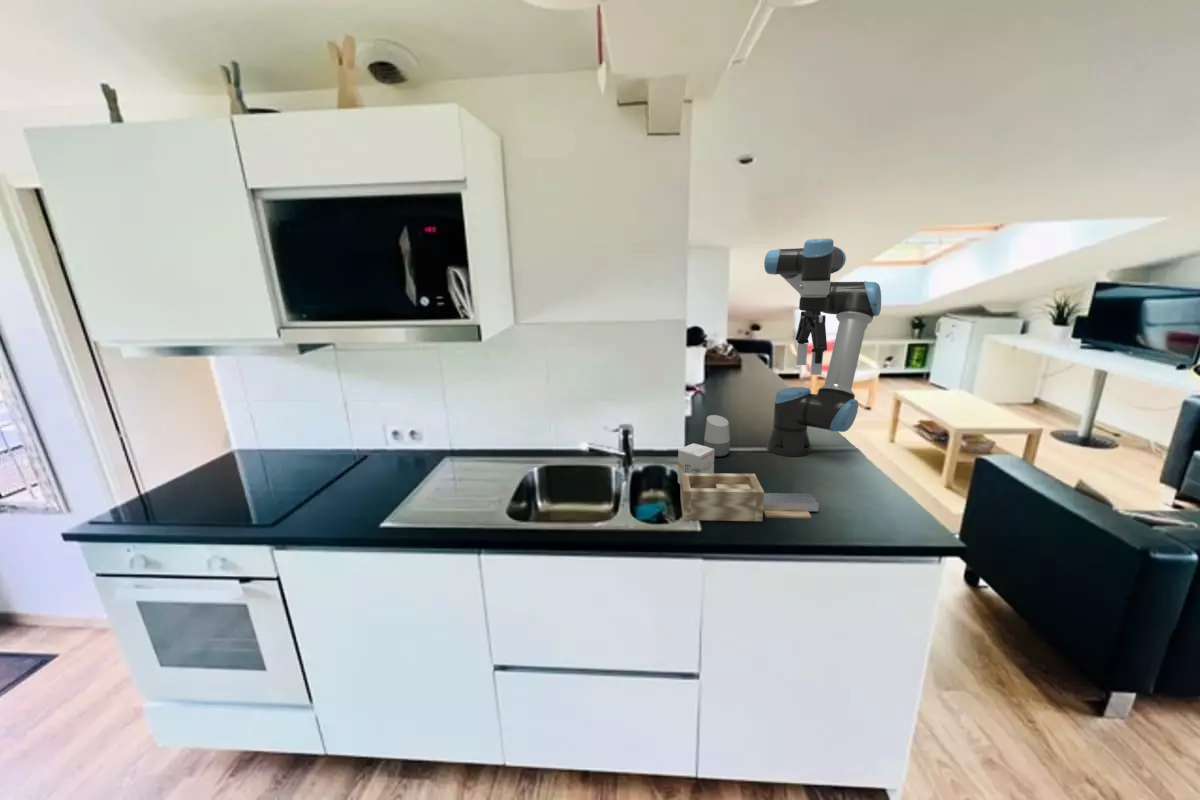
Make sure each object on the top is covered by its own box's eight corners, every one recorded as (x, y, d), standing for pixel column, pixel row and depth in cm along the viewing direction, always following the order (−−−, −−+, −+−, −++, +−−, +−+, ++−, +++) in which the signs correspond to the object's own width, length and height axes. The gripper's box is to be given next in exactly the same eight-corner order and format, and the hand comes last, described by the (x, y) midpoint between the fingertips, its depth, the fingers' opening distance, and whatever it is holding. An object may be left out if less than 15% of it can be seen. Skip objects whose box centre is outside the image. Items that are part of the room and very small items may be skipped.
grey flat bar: (811, 501, 140) (811, 493, 139) (818, 511, 134) (818, 503, 134) (754, 500, 142) (754, 492, 141) (758, 510, 136) (759, 502, 135)
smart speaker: (718, 460, 172) (719, 423, 169) (698, 453, 179) (699, 417, 176) (734, 454, 178) (736, 417, 174) (714, 447, 185) (715, 412, 181)
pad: (756, 497, 144) (756, 495, 144) (798, 498, 143) (798, 496, 143) (765, 517, 133) (766, 515, 133) (811, 518, 132) (811, 516, 132)
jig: (753, 500, 143) (754, 473, 140) (762, 521, 131) (764, 492, 129) (680, 499, 145) (680, 473, 143) (683, 519, 133) (683, 491, 131)
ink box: (692, 474, 162) (693, 442, 159) (714, 482, 156) (715, 448, 153) (676, 483, 156) (677, 449, 153) (698, 491, 150) (699, 455, 147)
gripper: (788, 294, 150) (783, 361, 155) (815, 299, 126) (808, 379, 131) (813, 293, 149) (807, 361, 154) (845, 298, 125) (837, 378, 131)
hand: (808, 369), depth 143 cm, fingers open, 13 cm apart
